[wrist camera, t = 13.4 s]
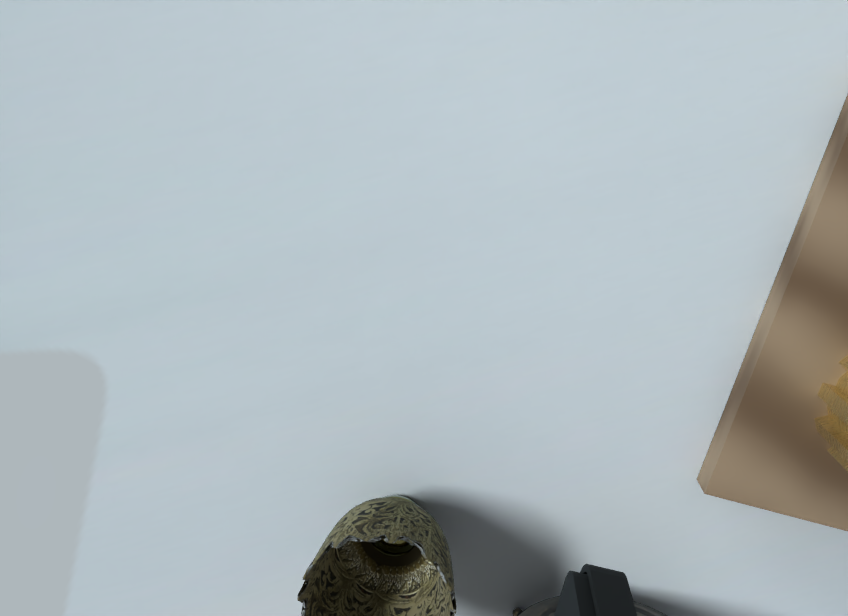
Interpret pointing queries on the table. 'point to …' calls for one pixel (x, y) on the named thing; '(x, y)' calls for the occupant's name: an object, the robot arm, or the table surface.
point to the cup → (381, 564)
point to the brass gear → (836, 417)
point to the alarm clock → (545, 610)
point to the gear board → (793, 368)
